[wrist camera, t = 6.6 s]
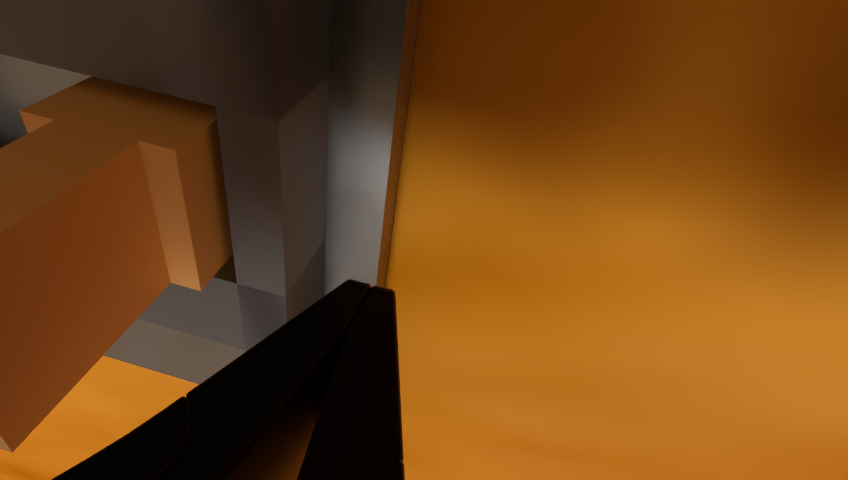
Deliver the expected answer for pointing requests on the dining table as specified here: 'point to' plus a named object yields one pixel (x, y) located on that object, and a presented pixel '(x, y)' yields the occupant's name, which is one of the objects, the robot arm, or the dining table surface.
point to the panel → (346, 163)
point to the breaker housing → (220, 132)
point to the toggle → (98, 231)
